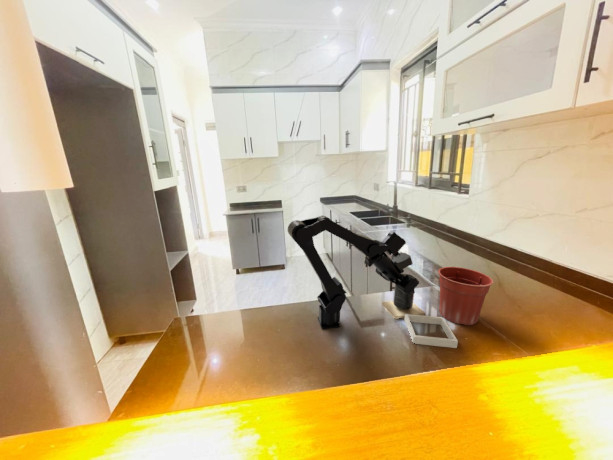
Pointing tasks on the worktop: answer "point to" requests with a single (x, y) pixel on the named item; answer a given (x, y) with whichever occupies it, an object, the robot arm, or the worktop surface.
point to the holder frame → (432, 341)
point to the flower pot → (462, 294)
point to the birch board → (402, 310)
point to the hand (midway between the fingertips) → (407, 289)
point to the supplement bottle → (402, 298)
